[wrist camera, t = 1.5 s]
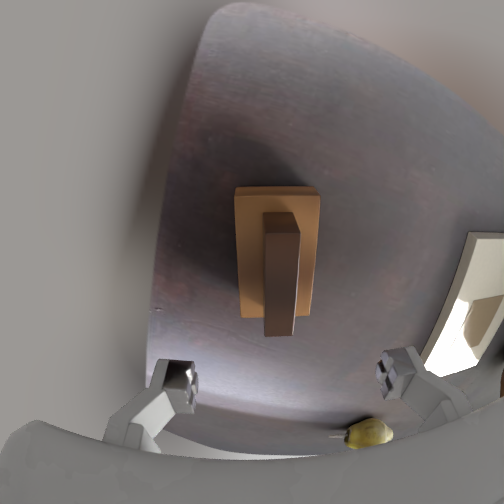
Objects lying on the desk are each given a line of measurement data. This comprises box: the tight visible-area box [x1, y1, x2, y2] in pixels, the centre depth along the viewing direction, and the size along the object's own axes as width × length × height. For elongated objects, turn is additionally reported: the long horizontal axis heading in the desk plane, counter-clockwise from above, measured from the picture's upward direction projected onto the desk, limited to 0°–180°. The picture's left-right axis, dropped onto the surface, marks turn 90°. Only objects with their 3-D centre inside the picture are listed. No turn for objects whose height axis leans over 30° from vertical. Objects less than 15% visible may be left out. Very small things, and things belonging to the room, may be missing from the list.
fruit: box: [328, 418, 393, 449], centre depth 33 cm, size 6×6×10 cm
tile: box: [420, 232, 504, 377], centre depth 24 cm, size 20×12×2 cm, turn 1°
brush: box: [234, 186, 321, 337], centre depth 18 cm, size 9×5×6 cm, turn 1°
